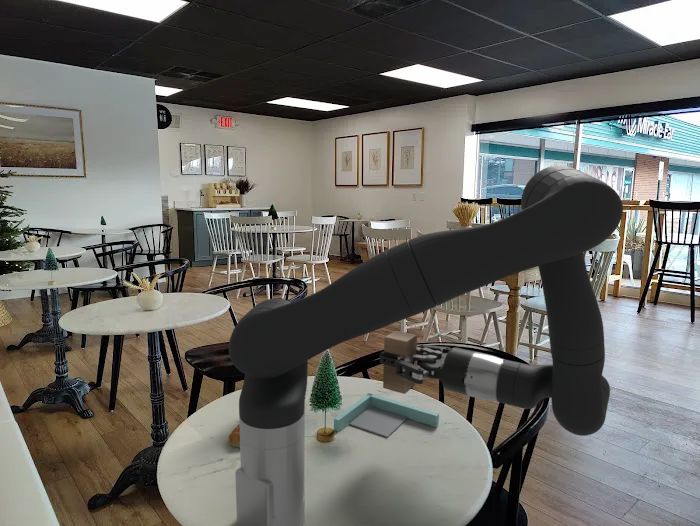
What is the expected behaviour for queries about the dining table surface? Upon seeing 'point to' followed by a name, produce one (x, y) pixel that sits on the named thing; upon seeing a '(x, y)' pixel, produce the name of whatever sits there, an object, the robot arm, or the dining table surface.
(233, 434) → the pastry
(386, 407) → the teal corner fixture
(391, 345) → the walnut block
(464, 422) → the dining table surface
